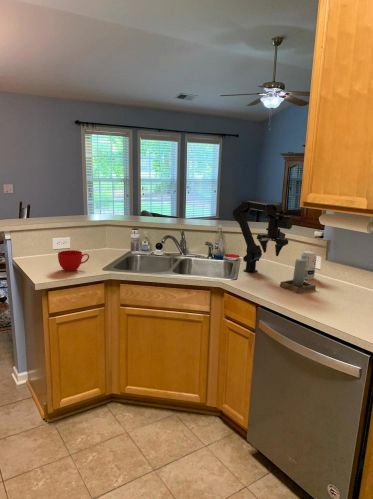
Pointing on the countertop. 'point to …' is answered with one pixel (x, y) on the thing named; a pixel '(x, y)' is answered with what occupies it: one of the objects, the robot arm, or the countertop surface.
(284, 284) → the walnut tray
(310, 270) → the supplement can
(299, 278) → the slate part
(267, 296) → the countertop surface
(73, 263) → the ceramic cup
